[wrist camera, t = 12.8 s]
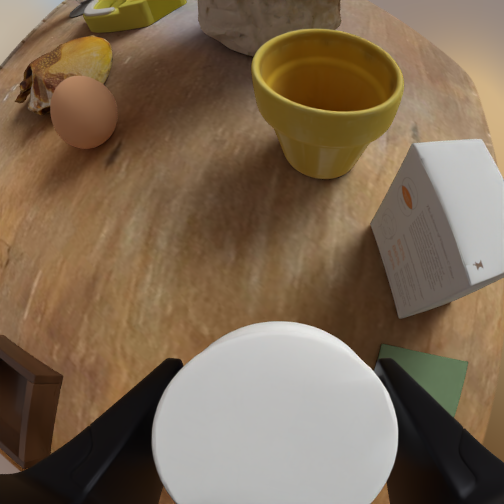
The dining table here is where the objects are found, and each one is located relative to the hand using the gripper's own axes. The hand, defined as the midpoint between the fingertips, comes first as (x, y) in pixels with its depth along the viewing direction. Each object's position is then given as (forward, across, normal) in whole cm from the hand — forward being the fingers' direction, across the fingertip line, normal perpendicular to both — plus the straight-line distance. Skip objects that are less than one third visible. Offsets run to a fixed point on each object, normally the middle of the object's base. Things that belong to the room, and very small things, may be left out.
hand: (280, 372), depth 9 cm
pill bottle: (+4, 0, +6) cm, 7 cm away
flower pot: (+22, -4, -3) cm, 23 cm away
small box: (+15, -10, +4) cm, 18 cm away
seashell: (+33, +30, -15) cm, 47 cm away
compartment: (+5, +24, +14) cm, 28 cm away
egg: (+25, +19, -6) cm, 32 cm away
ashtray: (+48, +25, -30) cm, 63 cm away
